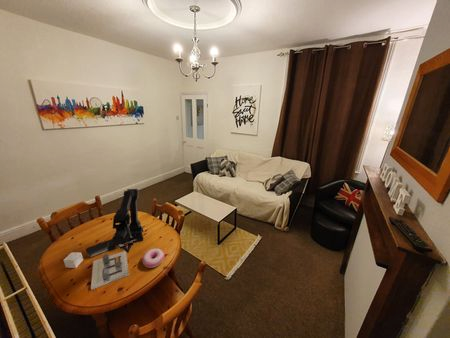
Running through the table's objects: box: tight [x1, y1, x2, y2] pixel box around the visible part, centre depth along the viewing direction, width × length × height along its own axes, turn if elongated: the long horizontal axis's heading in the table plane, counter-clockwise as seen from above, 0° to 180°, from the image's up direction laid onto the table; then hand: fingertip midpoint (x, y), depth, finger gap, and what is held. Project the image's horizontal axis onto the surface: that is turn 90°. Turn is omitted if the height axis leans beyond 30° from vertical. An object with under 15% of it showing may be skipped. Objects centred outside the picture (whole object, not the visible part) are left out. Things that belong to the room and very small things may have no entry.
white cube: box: [63, 251, 84, 269], centre depth 110 cm, size 6×6×6 cm
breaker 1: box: [102, 253, 110, 264], centre depth 111 cm, size 3×4×4 cm
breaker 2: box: [102, 268, 109, 280], centre depth 102 cm, size 3×4×4 cm
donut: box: [141, 248, 166, 269], centre depth 115 cm, size 14×13×5 cm
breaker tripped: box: [114, 257, 121, 267], centre depth 109 cm, size 3×4×4 cm
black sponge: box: [85, 238, 112, 258], centre depth 122 cm, size 16×8×4 cm, turn 131°
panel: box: [90, 250, 130, 291], centre depth 108 cm, size 18×20×2 cm
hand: (128, 252), depth 111 cm, fingers closed
